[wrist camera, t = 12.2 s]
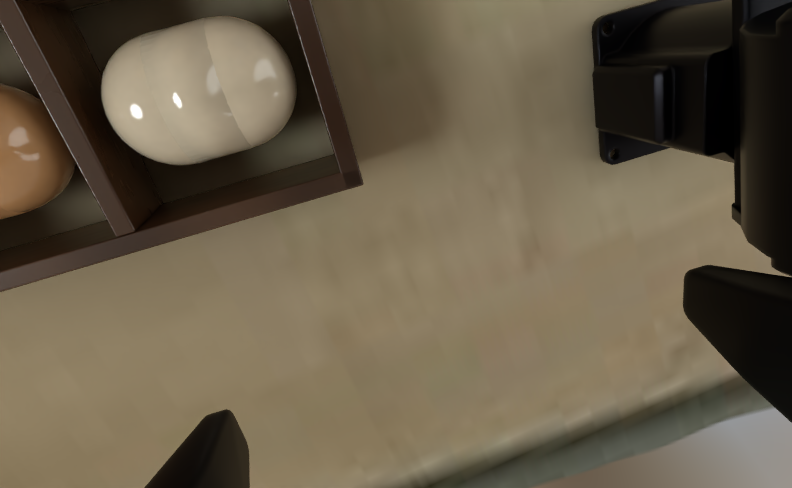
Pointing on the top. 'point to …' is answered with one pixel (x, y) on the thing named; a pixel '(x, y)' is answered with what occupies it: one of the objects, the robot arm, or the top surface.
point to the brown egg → (29, 154)
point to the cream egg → (199, 90)
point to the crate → (123, 167)
